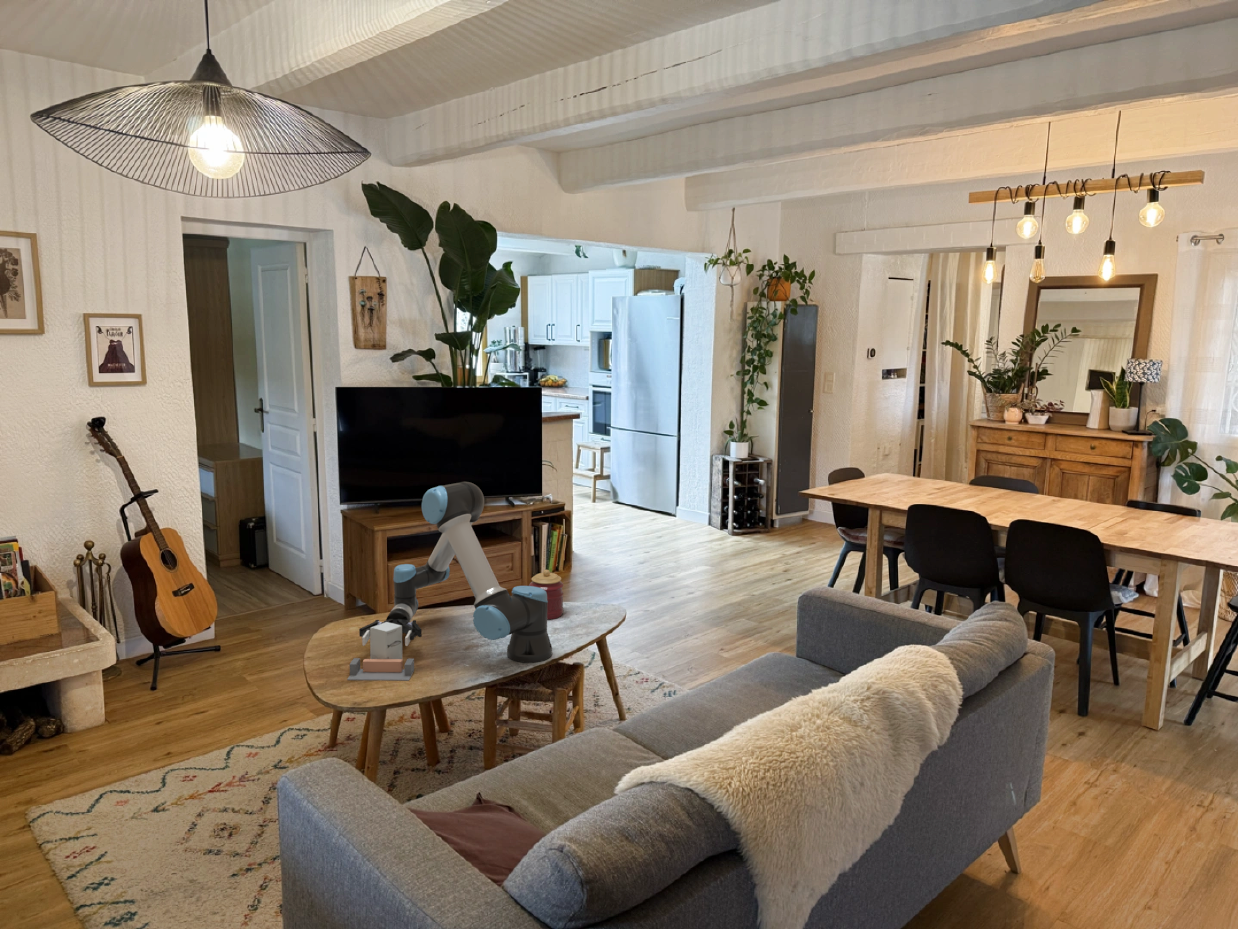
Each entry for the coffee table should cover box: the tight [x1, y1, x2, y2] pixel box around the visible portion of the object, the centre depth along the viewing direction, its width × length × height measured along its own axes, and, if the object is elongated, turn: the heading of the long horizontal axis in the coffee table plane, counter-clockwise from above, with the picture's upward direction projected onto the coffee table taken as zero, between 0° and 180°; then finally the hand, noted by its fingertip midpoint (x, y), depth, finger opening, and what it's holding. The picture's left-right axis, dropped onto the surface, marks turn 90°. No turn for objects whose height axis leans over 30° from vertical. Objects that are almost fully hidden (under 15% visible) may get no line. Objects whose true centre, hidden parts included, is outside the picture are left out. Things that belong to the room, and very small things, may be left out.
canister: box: [528, 569, 564, 620], centre depth 320 cm, size 13×13×18 cm
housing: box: [346, 657, 415, 681], centre depth 264 cm, size 8×19×4 cm, turn 92°
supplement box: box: [369, 622, 403, 659], centre depth 272 cm, size 7×7×13 cm
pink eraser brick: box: [362, 658, 404, 672], centre depth 266 cm, size 2×12×4 cm, turn 92°
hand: (384, 641), depth 269 cm, fingers open, 13 cm apart
